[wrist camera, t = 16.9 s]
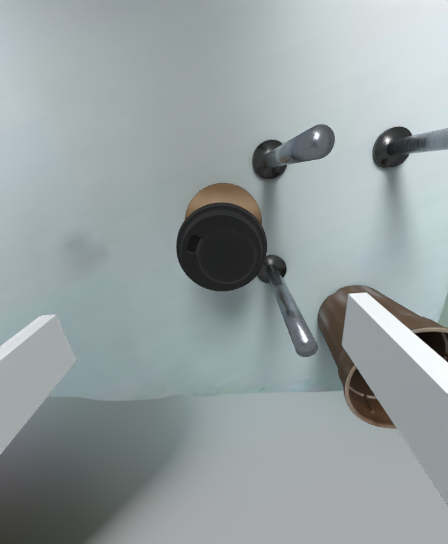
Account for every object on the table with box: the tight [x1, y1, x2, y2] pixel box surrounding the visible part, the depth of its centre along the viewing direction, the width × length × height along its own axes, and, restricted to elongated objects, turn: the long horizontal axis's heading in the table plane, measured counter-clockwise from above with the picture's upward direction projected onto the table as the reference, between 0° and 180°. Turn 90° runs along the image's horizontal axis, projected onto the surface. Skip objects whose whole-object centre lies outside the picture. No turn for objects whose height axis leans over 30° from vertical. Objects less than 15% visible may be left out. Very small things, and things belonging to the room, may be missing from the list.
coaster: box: [185, 183, 262, 226], centre depth 37 cm, size 12×12×1 cm
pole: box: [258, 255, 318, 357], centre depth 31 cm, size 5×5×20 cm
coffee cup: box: [176, 202, 267, 291], centre depth 29 cm, size 9×9×15 cm
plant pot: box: [318, 285, 448, 429], centre depth 36 cm, size 16×16×16 cm
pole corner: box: [252, 124, 335, 179], centre depth 24 cm, size 5×5×20 cm
